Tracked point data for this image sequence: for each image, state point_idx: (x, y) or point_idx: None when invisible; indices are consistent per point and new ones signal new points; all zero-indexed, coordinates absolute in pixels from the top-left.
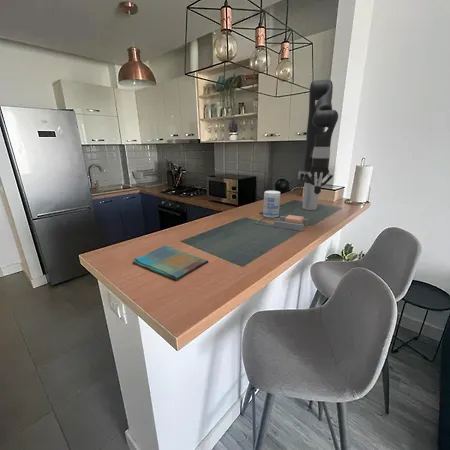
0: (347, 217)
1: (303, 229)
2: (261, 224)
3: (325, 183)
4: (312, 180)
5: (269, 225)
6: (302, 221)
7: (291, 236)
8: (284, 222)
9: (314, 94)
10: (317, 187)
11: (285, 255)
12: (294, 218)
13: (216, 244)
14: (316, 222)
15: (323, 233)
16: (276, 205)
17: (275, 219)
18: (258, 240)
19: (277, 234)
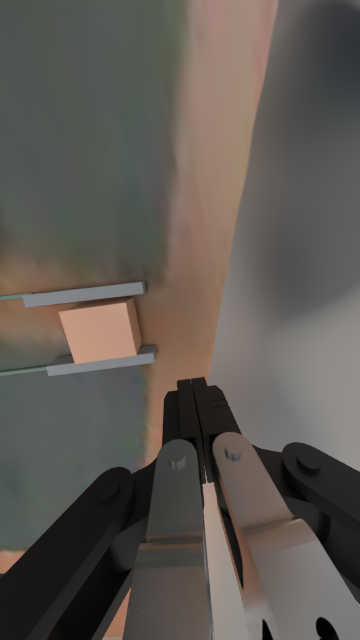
0: (268, 41)
1: (155, 348)
2: (15, 373)
3: (340, 538)
4: (80, 580)
5: (44, 369)
6: (132, 316)
7: (146, 407)
8: (86, 368)
9: None
10: (203, 467)
11: None
12: (105, 346)
13: (36, 524)
14: (162, 230)
15: (214, 338)
16: None
17: (15, 298)
18: (93, 467)
19: (108, 414)
